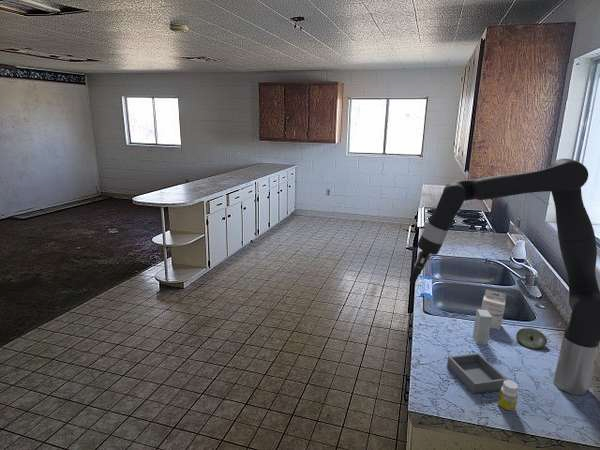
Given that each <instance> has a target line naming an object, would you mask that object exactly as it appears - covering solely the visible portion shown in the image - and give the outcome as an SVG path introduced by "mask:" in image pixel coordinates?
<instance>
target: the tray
mask: <svg viewBox="0 0 600 450" xmlns="http://www.w3.org/2000/svg"><path fill="white" fill-rule="evenodd" d="M446 367H447V368H448V369H449V371H450V372H451V373H452V374H454V376H455V377H456V378H457V379H458V380H459V381H460V383H462V385H463V386H464V387H465V388H466V389H467V390H468V391H469V392H470V393H471V394H472V395H473V396H476V395H482V394H488V393H489V394H490V393H497V392H500V391H501V387H502V386H503V382H504V381H505V380H509V379H508V378H507V377H506V376H505V375H503V374H502V373H501V372H500V371H499V369H497V368H496V367H494V365H493V364H492V363H490V362H489V361H488V360H487V359H486V358H485V357H484V356H483V355H481V354H480V353H479V352H476V353H469V354H466V353H465V354H460V355H458V354H457V355H451V356H447V363H446Z"/></svg>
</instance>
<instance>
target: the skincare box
mask: <svg viewBox="0 0 600 450" xmlns="http://www.w3.org/2000/svg"><path fill="white" fill-rule="evenodd" d="M491 321H492V316H491V315H490V313H489V312H488V310H481V308H480V309H479V308H477V309H476V313H475V320H474V326H473V330H472V331H473V332H472V337H473V339H474V342H475V344H476V345H489V344H488V343H489V338H490V331H491V328H490V327H491Z"/></svg>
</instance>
